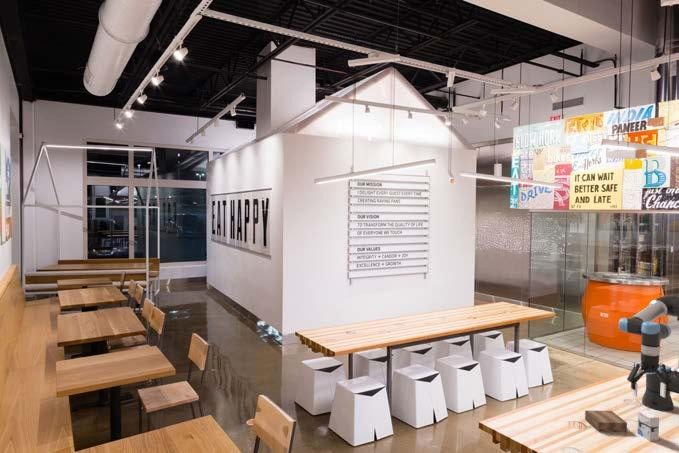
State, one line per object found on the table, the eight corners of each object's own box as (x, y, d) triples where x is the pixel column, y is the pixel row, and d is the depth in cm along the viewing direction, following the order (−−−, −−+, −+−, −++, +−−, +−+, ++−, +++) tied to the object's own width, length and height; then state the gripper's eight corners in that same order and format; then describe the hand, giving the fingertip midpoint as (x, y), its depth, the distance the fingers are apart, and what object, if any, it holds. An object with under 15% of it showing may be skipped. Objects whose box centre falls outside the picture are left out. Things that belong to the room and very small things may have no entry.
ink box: (636, 432, 234) (637, 410, 233) (646, 432, 234) (646, 409, 234) (649, 441, 225) (650, 417, 225) (659, 440, 226) (659, 417, 225)
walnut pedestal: (611, 420, 248) (611, 410, 248) (626, 432, 234) (627, 422, 234) (585, 419, 249) (585, 410, 248) (598, 432, 235) (598, 422, 234)
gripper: (670, 352, 232) (669, 393, 232) (620, 351, 233) (618, 392, 233) (681, 356, 224) (679, 399, 225) (628, 355, 225) (627, 398, 226)
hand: (648, 396), depth 229 cm, fingers open, 13 cm apart
